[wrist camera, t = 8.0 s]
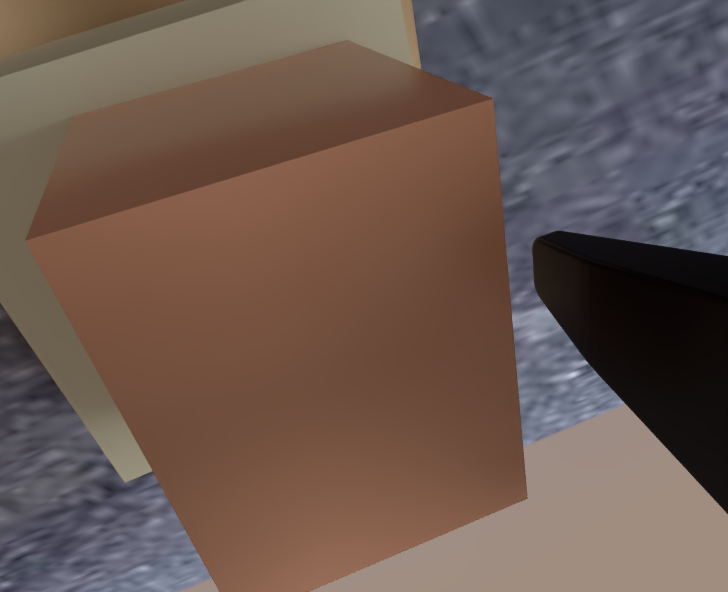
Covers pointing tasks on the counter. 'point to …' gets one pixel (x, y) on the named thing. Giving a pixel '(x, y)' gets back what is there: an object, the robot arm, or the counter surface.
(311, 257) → the terracotta brick
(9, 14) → the tower base
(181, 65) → the tower top
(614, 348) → the robot arm
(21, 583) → the counter surface
